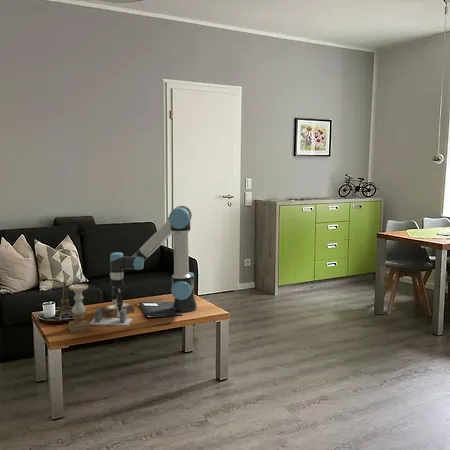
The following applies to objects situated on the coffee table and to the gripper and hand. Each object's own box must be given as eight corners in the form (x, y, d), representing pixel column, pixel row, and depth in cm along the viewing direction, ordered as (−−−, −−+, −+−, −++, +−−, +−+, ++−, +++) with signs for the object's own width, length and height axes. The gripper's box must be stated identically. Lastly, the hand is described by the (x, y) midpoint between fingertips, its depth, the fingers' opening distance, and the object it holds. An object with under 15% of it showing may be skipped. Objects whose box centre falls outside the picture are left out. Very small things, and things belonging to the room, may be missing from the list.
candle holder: (66, 327, 278) (65, 285, 274) (86, 324, 283) (86, 282, 280) (71, 333, 268) (70, 289, 265) (92, 330, 273) (91, 287, 270)
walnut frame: (126, 309, 313) (126, 301, 313) (134, 313, 307) (134, 304, 306) (100, 315, 301) (99, 306, 300) (107, 319, 295) (107, 310, 294)
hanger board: (132, 319, 293) (132, 307, 292) (128, 325, 282) (128, 313, 282) (94, 318, 294) (94, 306, 293) (88, 324, 283) (88, 312, 282)
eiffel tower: (58, 320, 290) (57, 277, 287) (53, 315, 299) (52, 273, 296) (77, 317, 296) (76, 275, 293) (71, 312, 305) (70, 271, 302)
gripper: (106, 274, 311) (106, 308, 314) (114, 283, 288) (115, 320, 291) (118, 273, 314) (118, 307, 317) (128, 282, 291) (128, 318, 294)
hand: (117, 313), depth 304 cm, fingers open, 13 cm apart
